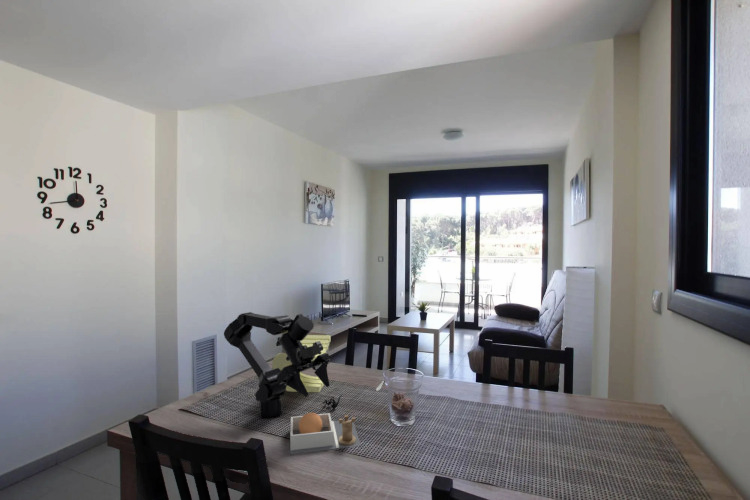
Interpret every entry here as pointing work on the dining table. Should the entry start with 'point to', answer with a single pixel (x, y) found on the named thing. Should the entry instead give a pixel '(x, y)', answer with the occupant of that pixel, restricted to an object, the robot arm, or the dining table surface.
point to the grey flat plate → (337, 434)
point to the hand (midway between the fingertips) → (318, 391)
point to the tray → (312, 434)
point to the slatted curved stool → (310, 381)
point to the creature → (332, 402)
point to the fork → (379, 386)
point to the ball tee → (347, 431)
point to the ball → (310, 423)
